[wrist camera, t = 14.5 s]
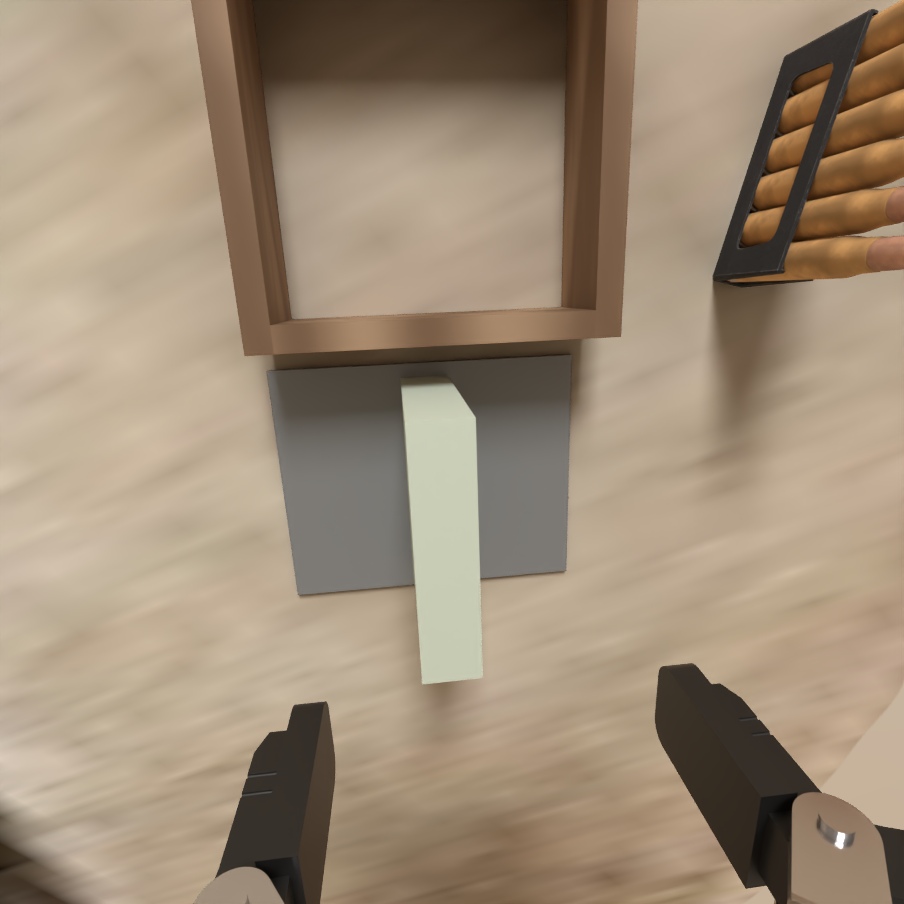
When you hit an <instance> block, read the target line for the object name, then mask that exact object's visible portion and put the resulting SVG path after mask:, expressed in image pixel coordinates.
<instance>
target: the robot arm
mask: <svg viewBox="0 0 904 904" xmlns="http://www.w3.org/2000/svg"><path fill="white" fill-rule="evenodd" d="M655 724H656V730H657V734H658V737H659V740H660V742H661V744H662V746H663V748H664V750H665V751H666V753H667V755H668V757H669V758H670V760H671V762H672V763H673V765H674V767H675V768H676V770H677V772H678V774H679V775H680V777H681V779H682V780H683V782H684V784H685V786H686V787H687V789H688V791H689V792H690V794H691V796H692V797H693V799H694V801H695V803H696V804H697V806H698V808H699V809H700V811H701V813H702V815H703V816H704V818H705V820H706V821H707V823H708V825H709V826H710V828H711V830H712V832H713V833H714V835H715V837H716V838H717V840H718V842H719V844H720V845H721V847H722V849H723V850H724V852H725V854H726V855H727V857H728V859H729V861H730V862H731V864H732V866H733V867H734V869H735V871H736V873H737V874H738V876H739V878H740V879H741V881H742V883H743V885H744V886H745V888H746V889H747V888H754V887H760V886H767V887H768V889H769V890H770V892H771V893H772V895H773V897H774V898H775V901H774V904H904V830H900V829H894V828H888V827H883V826H878V825H874V824H873V823H872V822H871V821H870V820H869V819H868V818H867V817H866V816H865V815H864V814H863V813H862V812H861V811H859V810H858V809H857V808H855V807H854V806H852V805H851V804H849V803H847V802H845V801H844V800H842V799H839V798H837V797H835V796H832V795H828V794H824V793H822V792H821V791H820V790H819V789H818V788H817V787H816V786H815V784H814V783H813V782H812V781H811V780H810V778H809V777H808V776H807V775H806V774H805V773H804V771H803V770H802V769H801V768H800V767H799V766H798V764H797V763H796V762H795V761H794V760H793V758H792V757H791V756H790V755H789V754H788V753H787V751H786V750H785V749H784V748H783V747H782V745H781V744H780V743H779V742H778V741H777V740H776V738H775V737H774V736H773V735H770V733H769V730H768V729H767V728H766V727H765V725H764V724H763V723H762V722H761V721H760V720H758V719H757V716H756V715H755V714H754V712H753V711H752V710H751V709H750V708H749V707H748V705H747V704H746V703H745V702H744V701H743V699H742V698H740V697H739V696H737V695H736V694H735V693H733V692H732V691H730V690H729V689H727V688H726V687H724V686H723V685H721V684H711V683H710V682H709V681H708V679H707V678H706V677H705V676H704V675H703V673H702V672H701V671H700V670H699V668H698V667H697V666H696V665H694V664H692V663H690V664H680V665H671V666H663V667H661V668H660V670H659V675H658V687H657V698H656V710H655ZM334 784H335V753H334V745H333V737H332V730H331V723H330V715H329V708H328V704H327V702H317V703H308V704H299V705H294V706H293V709H292V712H291V716H290V720H289V724H288V728H287V731H278V732H270V733H269V734H268V735H267V737H266V738H265V739H264V741H263V742H262V743H261V745H260V746H259V747H258V748H257V750H256V751H255V752H254V755H253V759H252V762H251V765H250V769H249V772H248V778H247V779H246V782H245V785H244V788H243V791H242V798H240V801H239V805H238V808H237V811H236V814H235V818H234V821H233V824H232V828H231V831H230V834H229V837H228V841H227V844H226V847H225V851H224V854H223V857H222V860H221V864H220V867H219V870H218V872H217V875H216V877H215V879H214V880H213V881H212V882H210V883H209V884H208V885H207V886H206V887H205V888H204V889H203V890H202V892H201V893H200V894H199V895H198V897H197V898H196V900H195V901H194V903H193V904H320V898H321V890H322V882H323V874H324V865H325V857H326V849H327V841H328V833H329V825H330V817H331V809H332V800H333V792H334Z"/></svg>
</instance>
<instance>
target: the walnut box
mask: <svg viewBox="0 0 904 904" xmlns="http://www.w3.org/2000/svg"><path fill="white" fill-rule="evenodd" d="M191 4H192V10H193V17H194V23H195V30H196V37H197V43H198V50H199V57H200V63H201V70H202V76H203V83H204V90H205V96H206V103H207V110H208V116H209V123H210V130H211V136H212V143H213V149H214V156H215V163H216V169H217V176H218V183H219V189H220V196H221V202H222V209H223V216H224V222H225V229H226V236H227V242H228V249H229V255H230V262H231V269H232V275H233V282H234V289H235V295H236V302H237V308H238V315H239V322H240V328H241V335H242V342H243V348H244V355H245V356H254V355H274V354H293V353H313V352H332V351H352V350H372V349H391V348H411V347H430V346H450V345H469V344H489V343H508V342H528V341H548V340H567V339H587V338H606V337H621V325H622V305H623V285H624V266H625V246H626V226H627V207H628V187H629V167H630V148H631V128H632V108H633V88H634V69H635V49H636V29H637V10H638V0H567V53H566V106H565V158H564V211H563V264H562V307H556V308H534V309H512V310H490V311H468V312H446V313H424V314H402V315H380V316H358V317H336V318H314V319H292V320H291V312H290V303H289V295H288V287H287V279H286V271H285V263H284V255H283V247H282V239H281V231H280V222H279V214H278V206H277V198H276V190H275V182H274V174H273V166H272V158H271V149H270V141H269V133H268V125H267V117H266V109H265V101H264V93H263V85H262V76H261V68H260V60H259V52H258V44H257V36H256V28H255V20H254V12H253V4H252V0H191Z"/></svg>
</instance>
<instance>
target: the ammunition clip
mask: <svg viewBox="0 0 904 904" xmlns="http://www.w3.org/2000/svg"><path fill="white" fill-rule="evenodd" d="M876 14H877V15H876ZM874 15H875V16H874ZM872 16H873V17H872ZM902 136H904V0H902V1H900V2H898V3H896V4H895V5H893V6H891V7H889V8H888V9H886V10H884V11H882V12H880V13H879V14H878V11H877V10H874V9H871V10H869V11H867V12H865V13H864V14H862V15H860V16H858V17H856V18H854V19H852V20H851V21H849V22H847V23H845V24H843V25H841V26H840V27H838V28H836V29H834V30H832V31H830V32H829V33H827V34H825V35H823V36H821V37H819V38H818V39H816V40H814V41H812V42H810V43H808V44H807V45H805V46H803V47H801V48H799V49H797V50H795V51H794V52H792V53H790V54H788V55H786V56H785V57H784V60H783V63H782V66H781V69H780V72H779V75H778V78H777V81H776V84H775V87H774V91H773V94H772V97H771V100H770V103H769V106H768V109H767V112H766V115H765V118H764V121H763V124H762V127H761V130H760V133H759V136H758V139H757V143H756V146H755V149H754V152H753V155H752V158H751V161H750V164H749V167H748V170H747V173H746V176H745V179H744V182H743V185H742V188H741V191H740V195H739V198H738V201H737V204H736V207H735V210H734V213H733V216H732V219H731V222H730V225H729V228H728V231H727V234H726V237H725V240H724V244H723V247H722V250H721V253H720V256H719V259H718V262H717V265H716V268H715V271H714V274H713V278H714V280H715V281H719V282H723V283H727V284H731V285H735V286H739V287H751V286H762V285H773V284H783V283H794V282H805V281H813V280H814V279H834V278H848V277H852V276H855V275H859V274H863V273H873V272H880V271H889V270H901V269H904V236H892V237H861V236H845V235H852V234H860V233H865V232H868V231H871V230H874V229H876V228H879V227H882V226H887V225H893V224H898V223H901V222H904V186H901V187H894V188H888V189H871V188H875V187H879V186H883V185H886V184H889V183H891V182H894V181H896V180H898V179H900V178H902V177H904V138H900V139H896V138H899V137H902ZM837 236H840V237H837ZM830 237H832V238H830Z"/></svg>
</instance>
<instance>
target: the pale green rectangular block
mask: <svg viewBox="0 0 904 904" xmlns="http://www.w3.org/2000/svg"><path fill="white" fill-rule="evenodd" d="M400 379H401V393H402V408H403V423H404V438H405V453H406V468H407V483H408V497H409V512H410V527H411V542H412V557H413V571H414V584H415V597H416V610H417V623H418V636H419V649H420V662H421V675H422V684H431V683H441V682H450V681H459V680H468V679H478V678H483V667H482V630H481V593H480V556H479V519H478V482H477V445H476V417H475V416H474V414H473V413H472V411H471V410H470V408H469V407H468V405H467V404H466V402H465V401H464V399H463V398H462V396H461V395H460V393H459V392H458V390H457V389H456V387H455V386H454V384H453V383H452V381H451V380H450V378H449V377H448V376H431V377H413V378H400Z"/></svg>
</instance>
